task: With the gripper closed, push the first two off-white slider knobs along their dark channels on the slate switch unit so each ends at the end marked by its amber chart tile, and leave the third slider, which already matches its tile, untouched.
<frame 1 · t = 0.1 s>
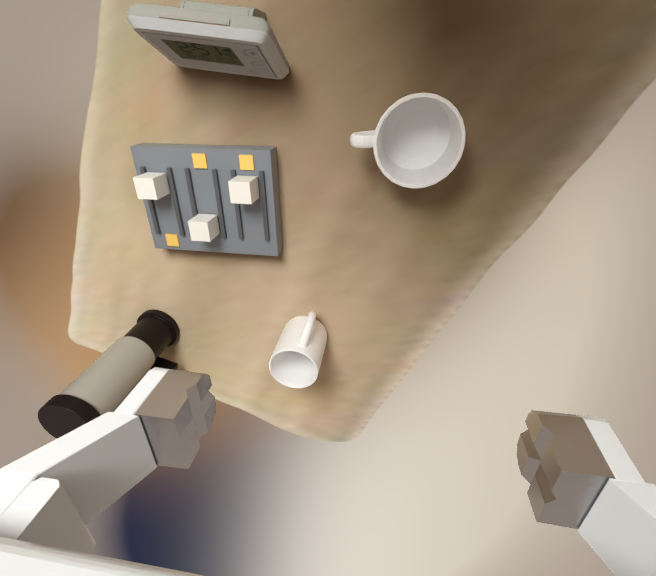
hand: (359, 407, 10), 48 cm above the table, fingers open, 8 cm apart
digital clock: (233, 48, 49), on the table
mug: (309, 324, 69), on the table
slider 2: (204, 227, 56), point 5 cm above the table, slide at 3.0 cm
switch unit: (215, 198, 59), on the table
slider 1: (152, 185, 54), point 5 cm above the table, slide at -3.0 cm
light fixture: (159, 331, 75), on the table
slider 3: (244, 189, 52), point 5 cm above the table, slide at -3.0 cm
mug 2: (404, 133, 50), on the table
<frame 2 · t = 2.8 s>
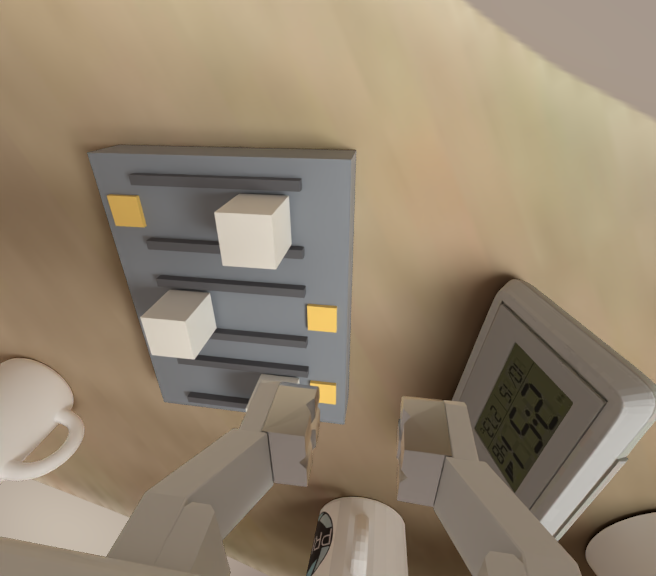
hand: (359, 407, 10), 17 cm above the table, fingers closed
digital clock: (499, 363, 29), on the table
mug: (58, 389, 40), on the table
slider 2: (181, 323, 25), point 5 cm above the table, slide at 3.0 cm
switch unit: (249, 288, 29), on the table
slider 1: (256, 229, 21), point 5 cm above the table, slide at -3.0 cm
slider 3: (275, 407, 28), point 5 cm above the table, slide at -3.0 cm
mug 2: (362, 512, 42), on the table
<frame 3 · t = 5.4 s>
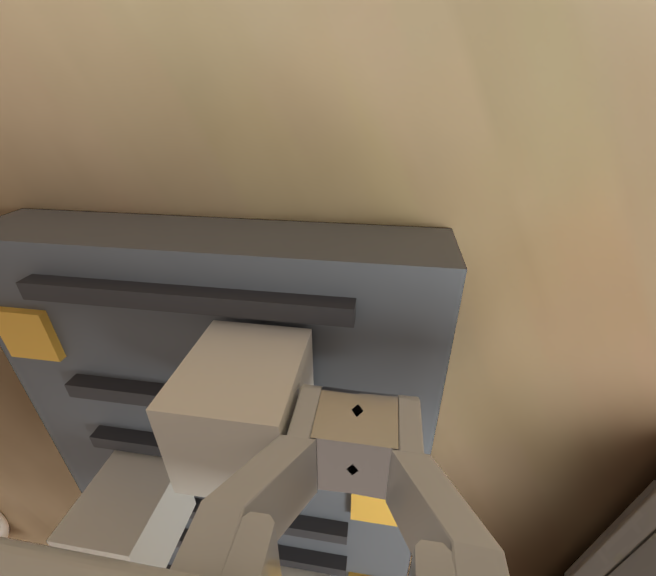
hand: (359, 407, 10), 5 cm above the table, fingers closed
digital clock: (645, 536, 18), on the table
slider 2: (131, 519, 14), point 5 cm above the table, slide at 3.0 cm
switch unit: (251, 422, 18), on the table
slider 1: (246, 406, 10), point 5 cm above the table, slide at -2.5 cm, touching gripper
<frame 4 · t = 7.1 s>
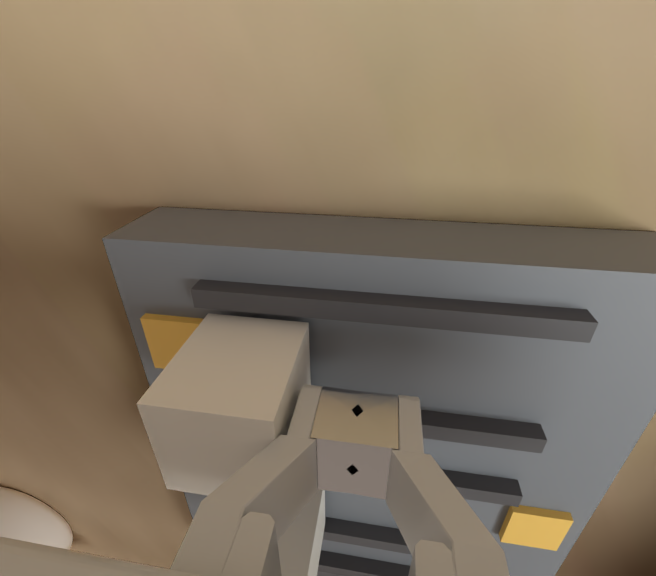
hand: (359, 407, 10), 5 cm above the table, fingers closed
mug: (51, 522, 28), on the table
slider 2: (275, 543, 13), point 5 cm above the table, slide at 3.0 cm
switch unit: (368, 434, 17), on the table
slider 1: (241, 401, 10), point 5 cm above the table, slide at 3.4 cm, touching gripper
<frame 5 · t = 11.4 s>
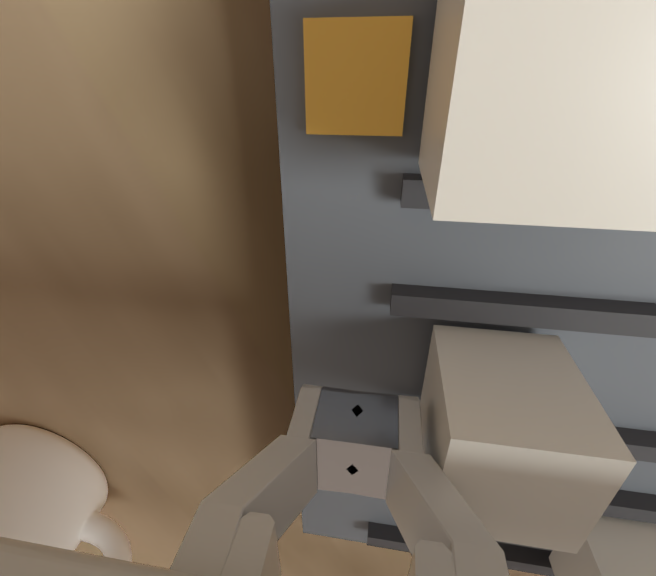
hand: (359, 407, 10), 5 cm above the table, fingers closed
mug: (81, 472, 23), on the table
slider 2: (497, 426, 9), point 5 cm above the table, slide at 2.5 cm, touching gripper
switch unit: (540, 313, 13), on the table
slider 1: (545, 82, 5), point 5 cm above the table, slide at 3.4 cm
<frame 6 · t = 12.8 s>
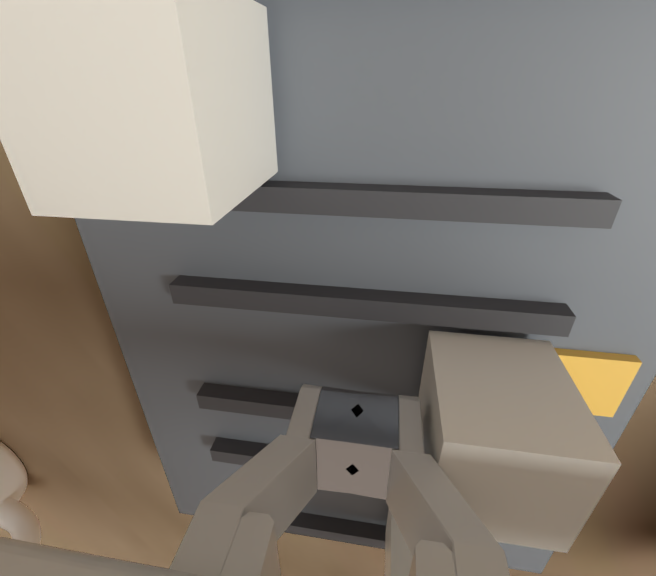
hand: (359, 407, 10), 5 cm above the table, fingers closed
mug: (3, 461, 24), on the table
slider 2: (490, 429, 9), point 5 cm above the table, slide at -3.4 cm, touching gripper
switch unit: (363, 304, 14), on the table
slider 1: (159, 102, 6), point 5 cm above the table, slide at 3.4 cm
slider 3: (432, 569, 12), point 5 cm above the table, slide at -3.0 cm
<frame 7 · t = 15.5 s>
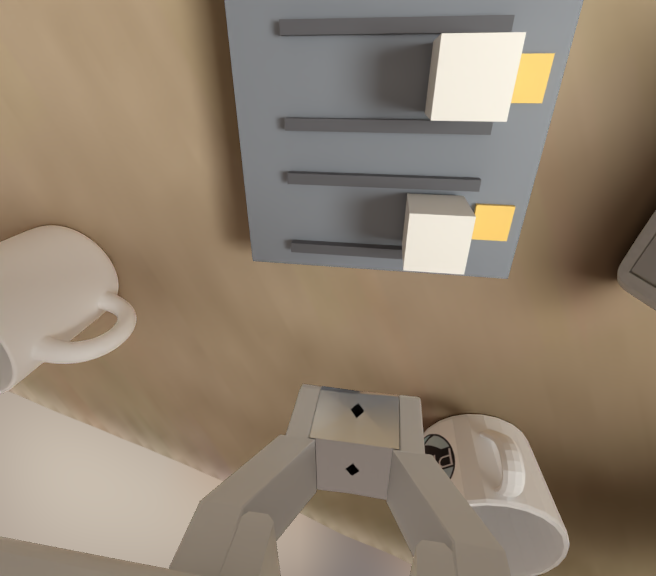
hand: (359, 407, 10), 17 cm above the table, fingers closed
mug: (98, 275, 31), on the table
slider 2: (467, 79, 16), point 5 cm above the table, slide at -3.4 cm
switch unit: (388, 78, 21), on the table
slider 3: (434, 232, 19), point 5 cm above the table, slide at -3.0 cm
mug 2: (474, 438, 34), on the table
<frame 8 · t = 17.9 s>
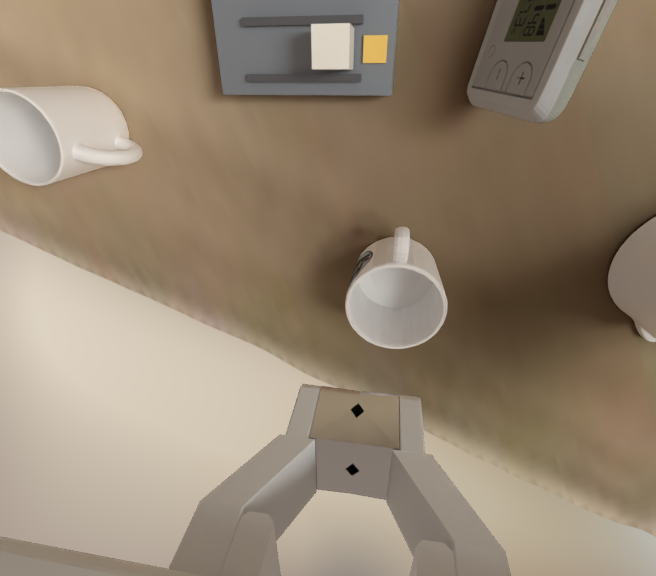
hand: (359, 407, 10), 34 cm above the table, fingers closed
digital clock: (528, 7, 31), on the table
mug: (114, 132, 42), on the table
slider 3: (333, 48, 30), point 5 cm above the table, slide at -3.0 cm
mug 2: (396, 262, 45), on the table
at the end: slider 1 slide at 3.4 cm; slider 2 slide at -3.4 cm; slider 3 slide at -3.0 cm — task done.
